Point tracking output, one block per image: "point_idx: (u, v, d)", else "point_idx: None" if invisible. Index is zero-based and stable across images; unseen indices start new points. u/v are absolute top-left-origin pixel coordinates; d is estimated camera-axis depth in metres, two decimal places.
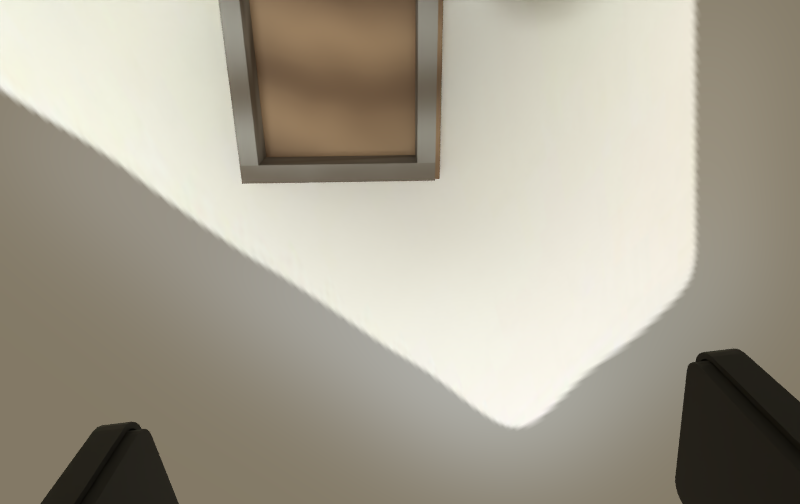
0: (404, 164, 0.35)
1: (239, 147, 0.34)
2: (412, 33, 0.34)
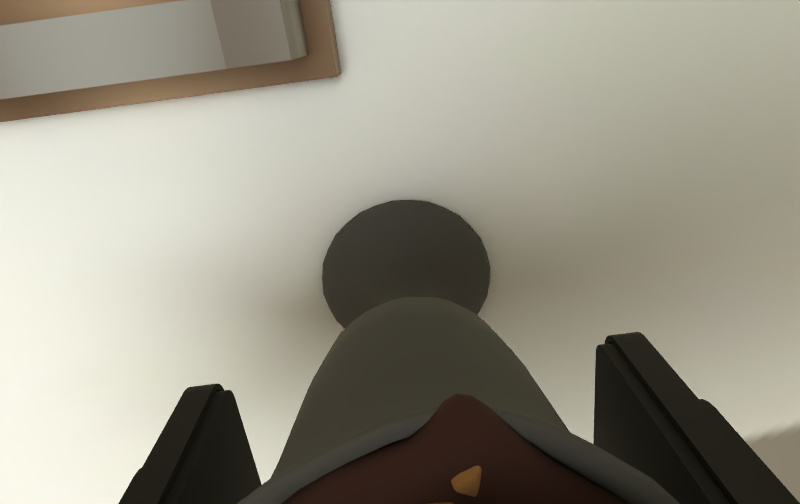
0: None
1: None
2: None
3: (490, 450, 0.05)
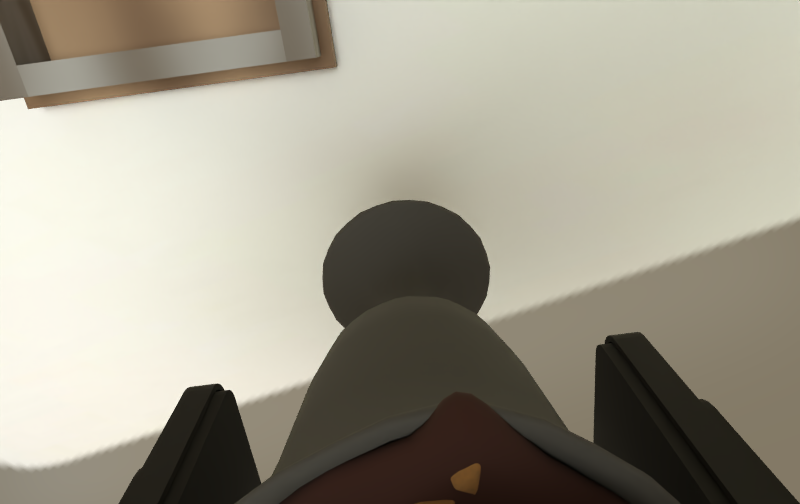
0: (5, 42, 0.20)
1: None
2: (229, 34, 0.23)
3: (489, 448, 0.05)
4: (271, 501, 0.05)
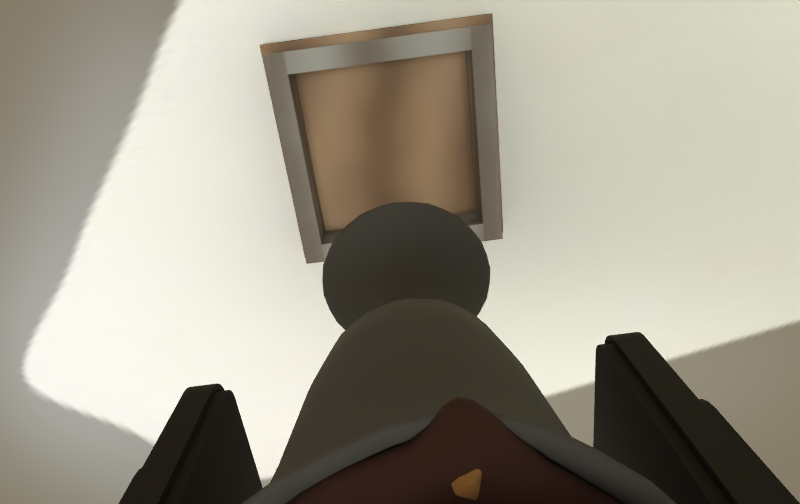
0: (317, 232, 0.33)
1: (305, 51, 0.29)
2: None
3: (490, 453, 0.05)
4: None
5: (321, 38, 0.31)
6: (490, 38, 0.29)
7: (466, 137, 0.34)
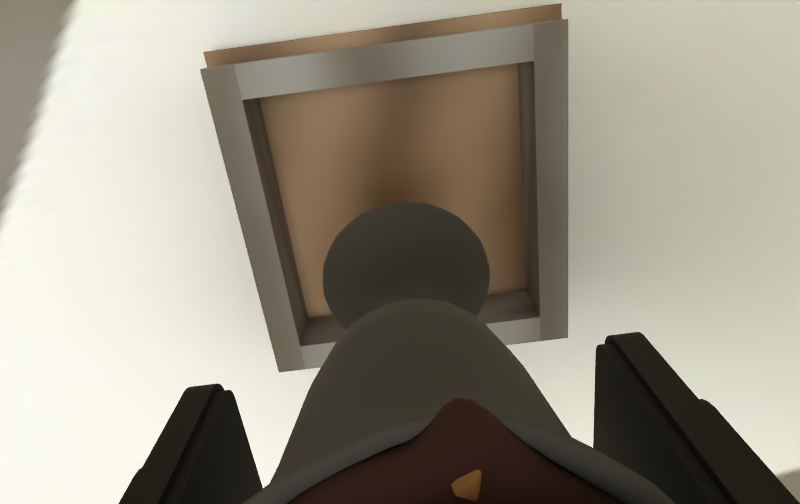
0: (293, 330, 0.22)
1: (268, 63, 0.18)
2: None
3: (490, 454, 0.05)
4: None
5: (297, 42, 0.20)
6: (564, 42, 0.18)
7: (515, 188, 0.23)
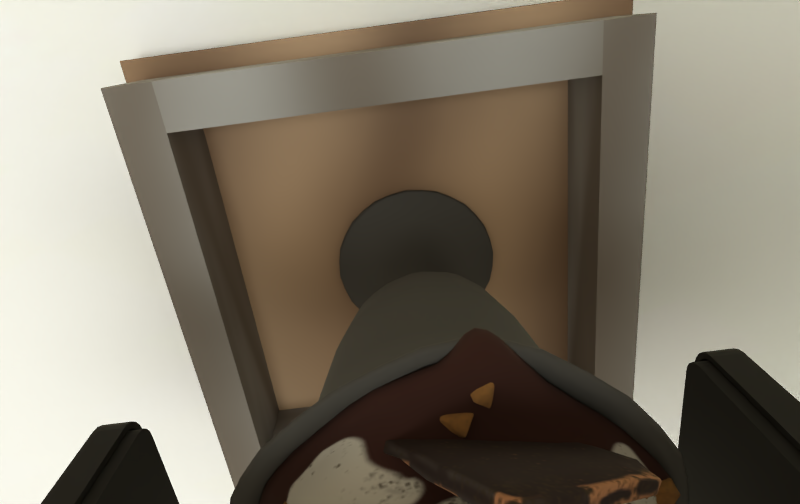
0: (255, 442, 0.16)
1: (203, 80, 0.12)
2: None
3: (501, 370, 0.06)
4: (327, 413, 0.06)
5: (254, 46, 0.14)
6: (650, 48, 0.12)
7: (558, 245, 0.17)
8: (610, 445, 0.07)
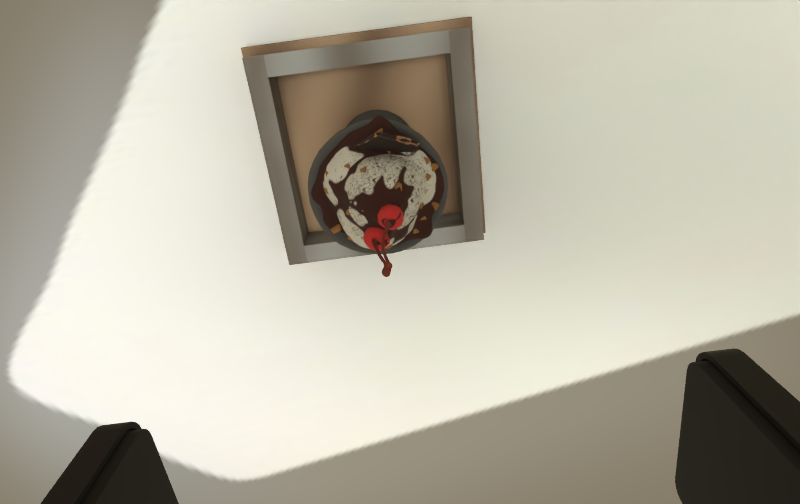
0: (299, 233, 0.34)
1: (285, 54, 0.29)
2: None
3: (384, 124, 0.24)
4: (338, 138, 0.24)
5: (302, 41, 0.31)
6: (468, 41, 0.29)
7: (447, 139, 0.34)
8: (417, 149, 0.24)
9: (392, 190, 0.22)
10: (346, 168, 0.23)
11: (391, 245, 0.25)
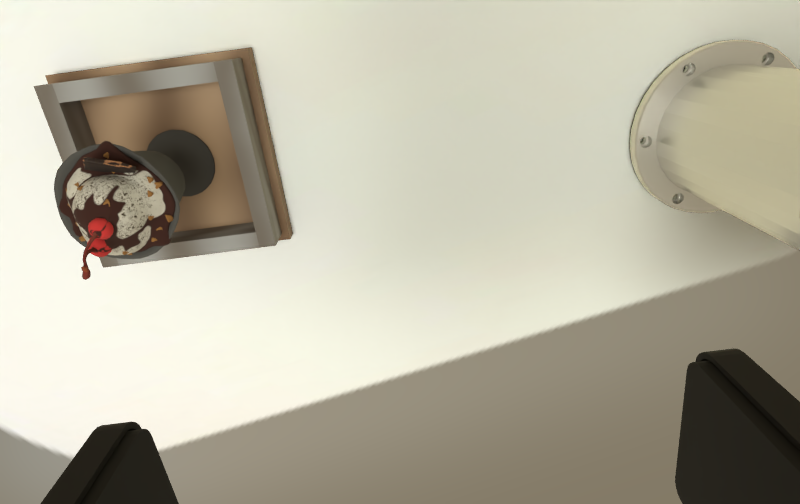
0: None
1: (71, 83, 0.33)
2: (229, 222, 0.40)
3: (109, 149, 0.28)
4: (71, 160, 0.28)
5: (99, 70, 0.36)
6: (232, 71, 0.33)
7: None
8: (141, 170, 0.28)
9: (101, 206, 0.26)
10: (76, 186, 0.28)
11: (125, 252, 0.29)
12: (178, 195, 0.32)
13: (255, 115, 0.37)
